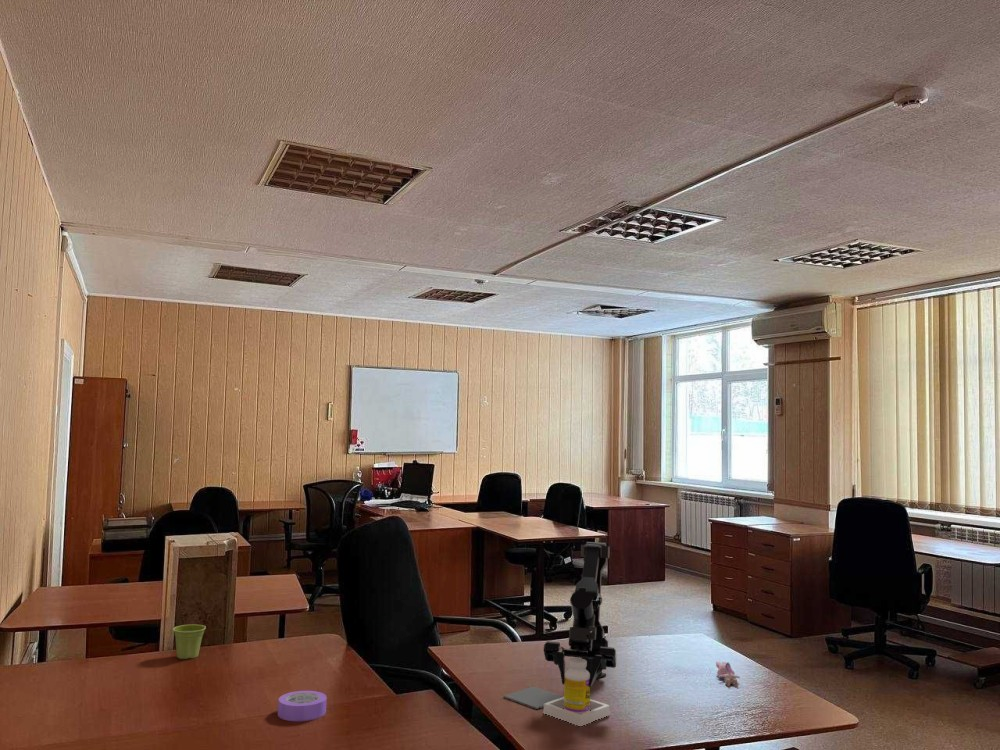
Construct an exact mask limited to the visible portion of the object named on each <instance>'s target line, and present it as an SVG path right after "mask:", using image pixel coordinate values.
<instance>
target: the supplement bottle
mask: <svg viewBox="0 0 1000 750" xmlns="http://www.w3.org/2000/svg"><path fill="white" fill-rule="evenodd" d="M586 666H587V661H586V660H585V659H581V658H578V657H572V658H571V657H570V658H569V659H568V669H565V674H564V684H563V685H564V687H563V689H564V690H563V696H564V709H565V710H568V711H571V712H574V713H577V714H580V715H581V714H583V713H586V712H588V711H590V699H591V687H589V681H590V673H589V672H588V671H587V670H586Z"/></svg>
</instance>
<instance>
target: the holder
mask: <svg viewBox="0 0 1000 750" xmlns="http://www.w3.org/2000/svg"><path fill="white" fill-rule="evenodd" d="M610 707H611V705H610V704H606V703H604V702H601V701H599V700H598V701H597V700H595V699H592V698H590V710H591V711H588V712H586V713H583V714H581V715H580V714H577V713H574V712H571V711H568V710H565V709H562V708H564V697H561V698H559V699H556V700H553V701H550V702H547V703H545V704H544V707H543V713H544V714H543V715H545V714H547V715H546V716H548V715H550V716H549V717H551V716H553V717H555V718H554V719H556V718H558V719H557V720H559V719H561V720H560V721H562V720H564V721H567V722H569V723H568V724H570V723H572V724H571V725H573V724H575V725H574V726H576V725H578V726H583V725H585V726H587V725H586V724H588V723H590V724H592V723H591V722H593V721H595V720H597V721H599V720H598V719H600V720H602V719H604V717H605V718H606V716H607V717H609V716H611V715H610V714H611V713H610V712H611V711H610V709H611V708H610ZM553 717H552V718H553ZM601 718H602V719H601ZM564 721H563V722H564ZM567 722H566V723H567ZM595 722H596V721H595ZM593 723H594V722H593ZM588 725H589V724H588ZM578 726H577V727H578ZM583 727H584V726H583Z"/></svg>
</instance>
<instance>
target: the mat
mask: <svg viewBox="0 0 1000 750" xmlns="http://www.w3.org/2000/svg"><path fill="white" fill-rule="evenodd" d="M561 697H564V695H560V694H557V693H555V692H550V691H548V690H545V689H542V688H540V687H536V686H530V687H528V688H523V689H520V690H517V691H514V692H511V693H509V694H505V695H503V698H504V699H506V700H508V699H510V700H509V701H511V700H512V702H514V701H515V702H514V703H517V702H518V704H520V705H522V704H523V706H525V705H527V706H526V707H528V706H529V707H528V708H531V707H532V708H531V709H533V708H535V709H534V710H536V709H538V710H540V709H539V708H541V709H543V708H544V704H545V703H547V702H550V701H553V700H556V699H559V698H561ZM542 707H543V708H542Z"/></svg>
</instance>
